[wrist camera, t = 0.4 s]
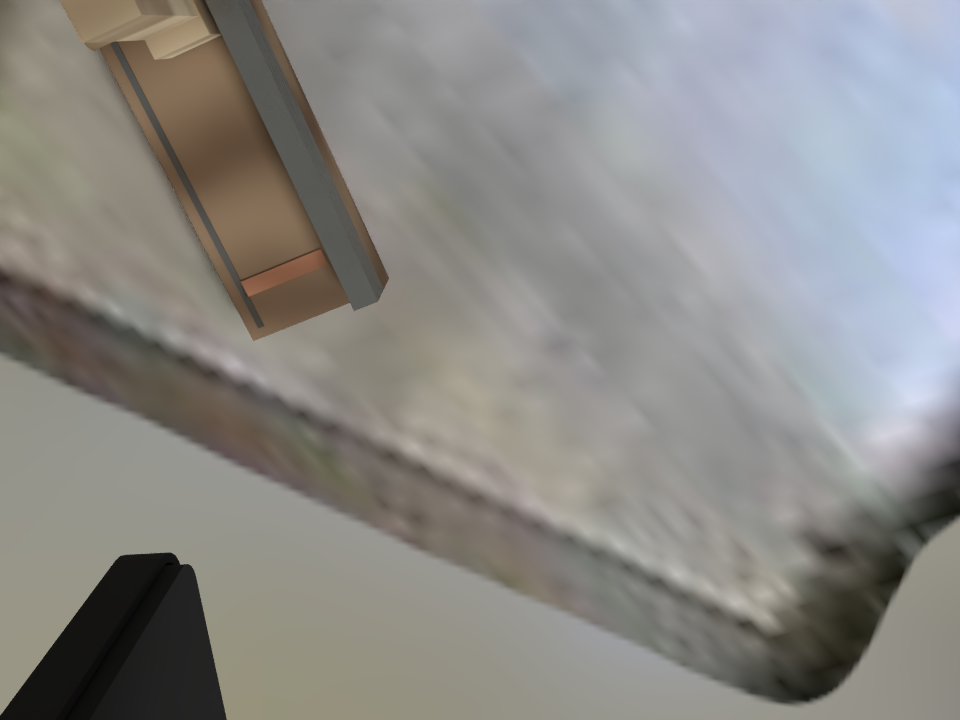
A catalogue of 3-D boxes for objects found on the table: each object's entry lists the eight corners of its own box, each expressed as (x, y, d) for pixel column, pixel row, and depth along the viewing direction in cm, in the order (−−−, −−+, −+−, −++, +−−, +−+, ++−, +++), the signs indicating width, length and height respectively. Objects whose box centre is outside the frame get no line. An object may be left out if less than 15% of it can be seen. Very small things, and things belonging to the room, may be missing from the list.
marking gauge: (74, -10, 38) (-31, -18, 31) (179, -61, 38) (96, -82, 30) (122, 80, 40) (32, 94, 32) (224, 34, 39) (155, 36, 31)
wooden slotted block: (79, -28, 40) (35, -33, 37) (217, -96, 39) (186, -108, 35) (264, 327, 46) (242, 355, 42) (388, 278, 45) (378, 301, 41)
